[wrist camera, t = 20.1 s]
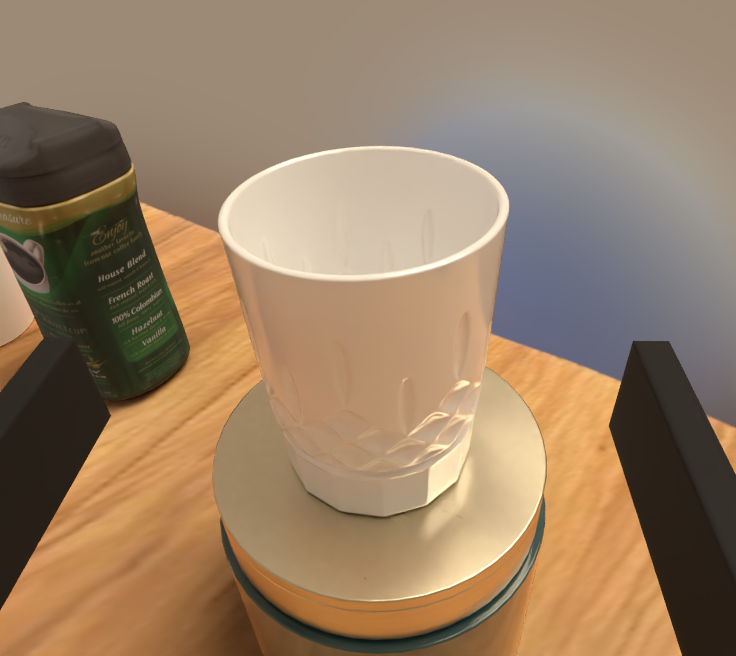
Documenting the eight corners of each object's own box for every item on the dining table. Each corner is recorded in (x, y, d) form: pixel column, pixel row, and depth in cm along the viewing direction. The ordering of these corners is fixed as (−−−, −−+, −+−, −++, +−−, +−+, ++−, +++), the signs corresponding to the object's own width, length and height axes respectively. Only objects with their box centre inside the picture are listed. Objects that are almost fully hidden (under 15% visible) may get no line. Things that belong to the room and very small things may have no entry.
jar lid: (178, 460, 25) (163, 420, 24) (406, 344, 31) (405, 305, 29) (333, 729, 17) (324, 694, 16) (608, 507, 22) (622, 465, 21)
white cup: (439, 355, 26) (445, 131, 20) (522, 499, 20) (566, 241, 14) (262, 395, 25) (209, 168, 19) (293, 562, 19) (230, 308, 13)
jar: (213, 567, 31) (158, 431, 24) (409, 448, 36) (406, 311, 30) (352, 825, 22) (324, 721, 16) (581, 618, 28) (629, 478, 21)
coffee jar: (211, 353, 45) (139, 103, 33) (125, 420, 40) (4, 152, 28) (130, 314, 49) (41, 82, 38) (43, 370, 44) (-89, 121, 33)
